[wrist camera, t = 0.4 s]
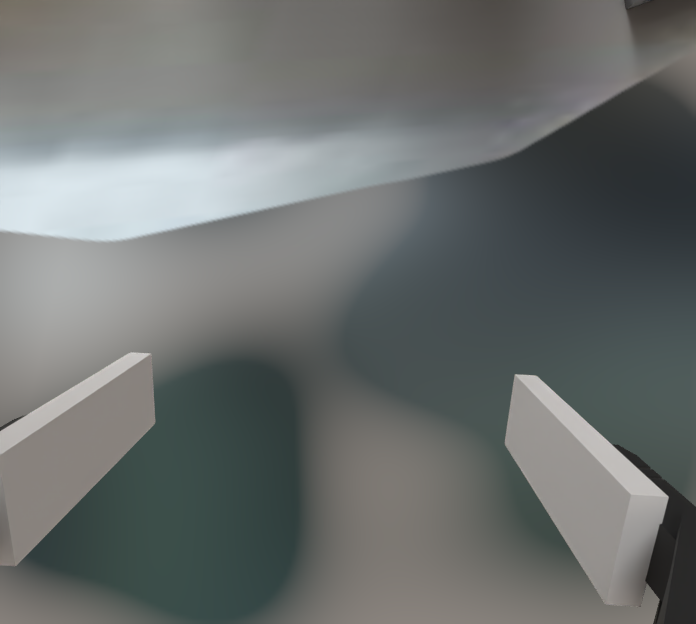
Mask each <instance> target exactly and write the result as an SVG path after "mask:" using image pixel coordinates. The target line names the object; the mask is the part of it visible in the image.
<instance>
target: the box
mask: <svg viewBox="0 0 696 624" xmlns="http://www.w3.org/2000/svg"><path fill="white" fill-rule="evenodd" d="M649 1H652V0H625V5H626V9H628V8H631V7H634V6H637V5H640V4H643V3H646V2H649Z"/></svg>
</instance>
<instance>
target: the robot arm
mask: <svg viewBox="0 0 696 624" xmlns="http://www.w3.org/2000/svg"><path fill="white" fill-rule="evenodd" d="M154 424H155V411H154V393H153V376H152V359H151V354H147V353H129V354H127V355H125V356H124V357H122V358H120V359H119V360H117V361H115V362H114V363H112V364H110V365H109V366H107V367H106V368H104V369H102V370H101V371H99V372H97V373H96V374H94V375H92V376H91V377H89V378H87V379H86V380H84V381H82V382H81V383H79V384H77V385H76V386H74V387H72V388H71V389H69V390H67V391H66V392H64V393H62V394H61V395H59V396H58V397H56V398H54V399H53V400H51V401H49V402H48V403H46V404H44V405H43V406H41V407H39V408H38V409H36V410H35V411H33V412H31V413H29V414H27V415H25V416H22V417H19V418H17V419H14V420H12V421H10V422H9V423H7V424H5V425H4V426H2V427H0V565H5V566H16V565H17V564H18V563H19V562H20V561H21V560H22V559H23V558H24V557H25V556H26V555H27V554H28V553H29V552H30V551H31V550H32V549H33V548H34V547H35V546H36V545H37V544H38V543H39V542H40V541H41V540H42V539H43V537H44V536H46V535H47V534H48V532H49V531H50V530H51V529H52V528H53V527H54V526H55V525H56V524H57V523H58V522H59V521H60V520H61V519H62V518H63V517H64V516H65V515H66V514H67V513H68V512H69V511H70V510H71V509H72V508H73V507H74V506H75V505H76V504H77V503H78V502H79V501H80V500H81V499H82V498H83V497H84V496H85V494H87V493H88V491H89V490H90V489H91V488H92V487H93V486H94V485H95V484H96V483H97V482H98V481H99V480H100V479H101V478H102V477H103V476H104V475H105V474H106V473H107V472H108V471H109V470H110V469H111V468H112V467H113V466H114V465H115V464H116V463H117V462H118V461H119V460H120V459H121V458H122V457H123V456H124V455H125V454H126V453H127V452H128V450H129V449H130V448H131V447H132V446H133V445H134V444H135V443H136V442H137V441H138V440H139V439H140V438H141V437H142V436H143V435H144V434H145V433H146V432H147V431H148V430H149V429H150V428H151V427H152V426H153V425H154ZM505 445H506V447H507V449H508V450H509V452H510V453H511V455H512V456H513V458H514V460H515V461H516V463H517V464H518V466H519V468H520V469H521V471H522V472H523V474H524V476H525V477H526V479H527V480H528V482H529V483H530V485H531V487H532V488H533V490H534V491H535V493H536V495H537V496H538V498H539V499H540V501H541V503H542V504H543V506H544V507H545V509H546V511H547V512H548V514H549V515H550V517H551V519H552V520H553V522H554V523H555V525H556V526H557V528H558V530H559V531H560V533H561V534H562V536H563V538H564V539H565V541H566V542H567V544H568V546H569V547H570V549H571V550H572V552H573V554H574V555H575V557H576V558H577V560H578V561H579V563H580V565H581V566H582V568H583V569H584V571H585V573H586V574H587V576H588V577H589V579H590V581H591V582H592V584H593V585H594V587H595V588H596V590H597V592H598V593H599V595H600V596H601V598H602V600H603V601H604V603H605V604H607V605H623V606H639V607H641V604H642V600H643V595H644V592H645V588H646V584H648V585H649V586H650V587H651V589H652V590H653V591H654V593H655V594H656V595H657V596H658V598H659V599H660V601H659V604H658V608H657V612H656V616H655V619H654V623H653V624H696V507H695V506H694V505H693V504H692V503H691V502H689V501H688V500H687V499H686V498H685V497H684V496H683V495H682V494H680V493H679V492H678V491H677V490H676V489H675V488H673V487H672V486H671V485H670V484H669V483H668V482H667V481H665V480H663V479H662V478H661V476H660V475H659V474H657V473H656V472H655V471H654V470H652V469H650V467H649V466H648V465H647V464H646V463H645V462H644V461H642V460H641V459H640V458H639V457H638V456H637V455H635V454H633V453H631V452H630V451H628V450H626V449H624V448H623V447H621V446H619V445H612V444H610V443H609V442H608V441H607V440H606V439H605V438H604V437H603V436H602V435H601V434H600V433H598V432H597V431H596V430H595V429H594V428H593V427H592V426H591V425H590V424H588V422H586V421H585V420H584V419H583V418H582V417H581V416H580V415H579V414H578V413H577V412H576V411H574V410H573V409H572V408H571V407H570V406H569V405H568V404H567V403H566V402H565V401H564V400H562V399H561V398H560V397H559V396H558V395H557V394H556V393H555V392H554V391H553V390H552V389H550V388H549V387H548V386H547V385H546V384H545V383H544V382H543V381H542V380H541V379H539V378H538V377H537V376H533V375H515V377H514V384H513V390H512V397H511V404H510V411H509V417H508V424H507V431H506V438H505Z"/></svg>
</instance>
